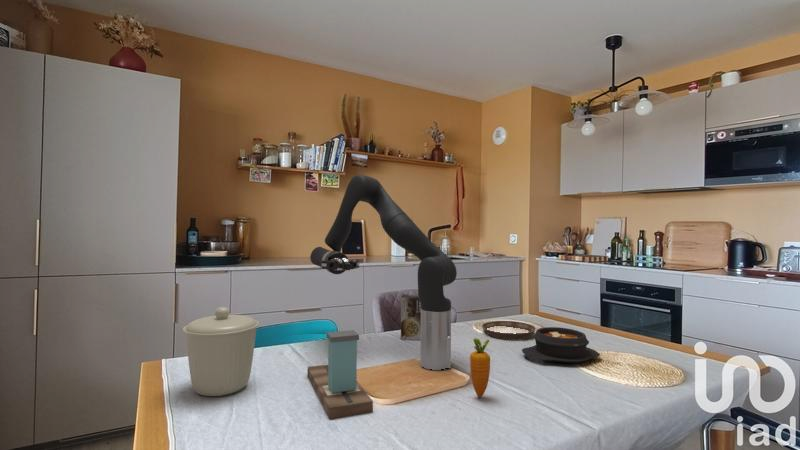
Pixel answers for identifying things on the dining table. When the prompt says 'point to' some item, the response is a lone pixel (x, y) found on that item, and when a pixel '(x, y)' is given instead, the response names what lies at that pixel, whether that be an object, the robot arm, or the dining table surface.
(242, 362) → the canister
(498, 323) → the plant saucer
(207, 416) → the dining table surface
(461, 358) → the dining table surface
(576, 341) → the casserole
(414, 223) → the robot arm
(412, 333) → the coffee box
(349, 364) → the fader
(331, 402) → the grooved wooden base
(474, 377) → the carrot
